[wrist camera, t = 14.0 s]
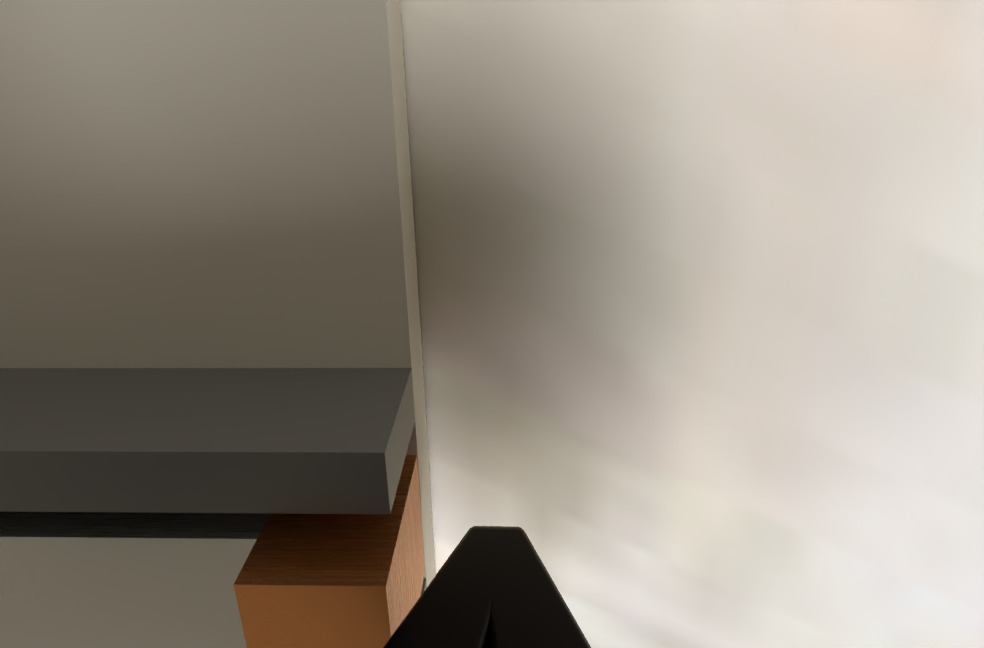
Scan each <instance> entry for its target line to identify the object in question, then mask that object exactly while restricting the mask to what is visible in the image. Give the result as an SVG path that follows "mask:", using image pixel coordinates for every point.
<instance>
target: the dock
mask: <svg viewBox="0 0 984 648" xmlns="http://www.w3.org/2000/svg"><path fill="white" fill-rule="evenodd" d="M406 455H417V462H418V477H419V491H420V505H421V519H422V534H423V548H424V562H425V573H424V579H423V585H422V591H421V595H422V594H423V592H424V591H425V589H426V588H427V587H428V585H429V584H430V583H431V581H432V580H433V578H434V577H435V576H436V566H435V550H434V534H433V518H432V502H431V486H430V470H429V454H428V438H427V422H426V406H425V389H424V373H423V357H422V341H421V325H420V309H419V293H418V277H417V261H416V245H415V229H414V213H413V197H412V181H411V165H410V149H409V132H408V116H407V100H406V84H405V68H404V52H403V36H402V20H401V4H400V0H0V511H7V512H144V513H281V514H391V510H392V506H393V502H394V499H395V495H396V491H397V487H398V484H399V480H400V476H401V472H402V468H403V465H404V461H405V457H406Z"/></svg>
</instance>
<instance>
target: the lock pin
mask: <svg viewBox="0 0 984 648" xmlns="http://www.w3.org/2000/svg"><path fill="white" fill-rule="evenodd" d="M424 573H425V562H424V548H423V534H422V519H421V505H420V491H419V477H418V462H417V455H406V457H405V461H404V465H403V468H402V472H401V476H400V480H399V484H398V487H397V491H396V495H395V499H394V502H393V506H392V510H391V514H281V513H144V512H7V511H0V648H383V647H384V646H385V644H386V643H387V642H388V640H389V639H390V638H391V636H392V635H393V633H394V632H395V631H396V629H397V628H398V627H399V625H400V624H401V622H402V621H403V620H404V618H405V617H406V616H407V614H408V613H409V611H410V610H411V609H412V607H413V606H414V605H415V603H416V602H417V600H418V599H419V598H420V596H421V591H422V585H423V579H424Z"/></svg>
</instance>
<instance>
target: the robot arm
mask: <svg viewBox="0 0 984 648" xmlns="http://www.w3.org/2000/svg"><path fill="white" fill-rule="evenodd" d="M383 648H591V647H590V645H589V643H588V641H587V640H586V638H585V636H584V634H583V633H582V631H581V629H580V627H579V626H578V624H577V622H576V620H575V619H574V617H573V615H572V613H571V612H570V610H569V608H568V606H567V605H566V603H565V601H564V599H563V598H562V596H561V594H560V592H559V591H558V589H557V587H556V585H555V584H554V582H553V580H552V578H551V577H550V575H549V573H548V571H547V570H546V568H545V566H544V564H543V563H542V561H541V559H540V557H539V556H538V554H537V552H536V550H535V549H534V547H533V545H532V543H531V542H530V540H529V538H528V536H527V535H526V533H525V531H524V530H523V529H522V528H520V527H500V526H474V527H471V528H470V529H469V530H468V532H467V533H466V534H465V536H464V537H463V539H462V540H461V541H460V543H459V544H458V545H457V547H456V548H455V550H454V551H453V552H452V554H451V555H450V556H449V558H448V559H447V561H446V562H445V563H444V565H443V566H442V567H441V569H440V570H439V572H438V573H437V574H436V576H435V577H434V578H433V580H432V581H431V583H430V584H429V585H428V587H427V588H426V589H425V591H424V592H423V594H422V595H421V596H420V598H419V599H418V600H417V602H416V603H415V605H414V606H413V607H412V609H411V610H410V611H409V613H408V614H407V616H406V617H405V618H404V620H403V621H402V622H401V624H400V625H399V627H398V628H397V629H396V631H395V632H394V633H393V635H392V636H391V638H390V639H389V640H388V642H387V643H386V644H385V646H384V647H383Z"/></svg>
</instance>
